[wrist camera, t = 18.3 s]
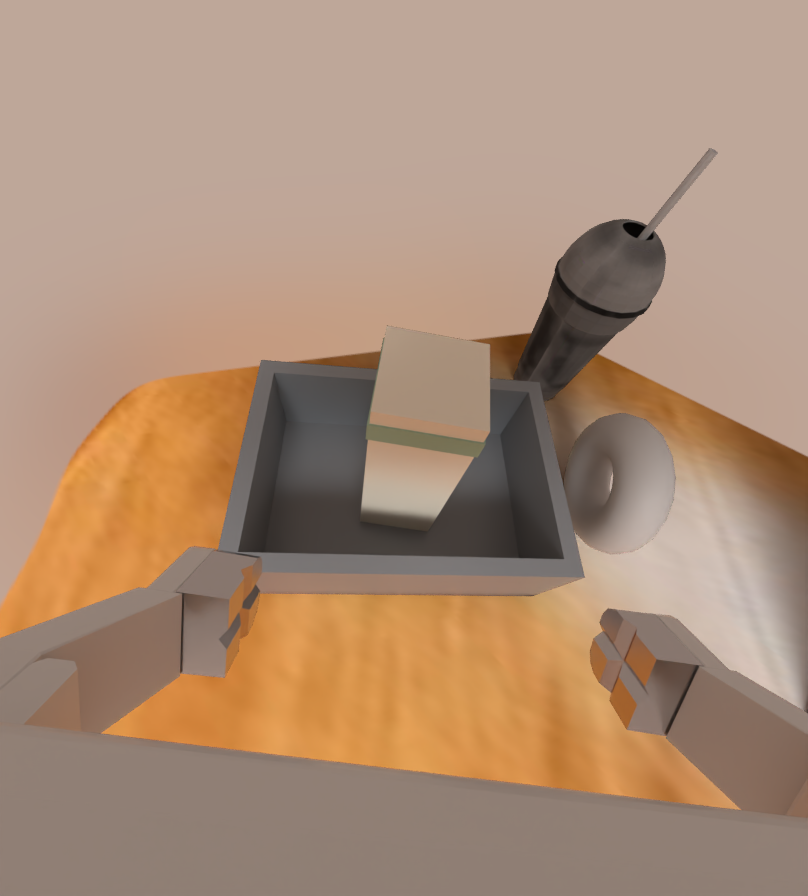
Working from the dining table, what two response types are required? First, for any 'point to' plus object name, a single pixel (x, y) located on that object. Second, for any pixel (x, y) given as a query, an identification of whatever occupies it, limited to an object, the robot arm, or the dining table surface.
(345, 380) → the box
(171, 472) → the dining table surface
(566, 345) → the beverage cup
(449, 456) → the juice carton
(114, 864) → the robot arm
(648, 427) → the donut
